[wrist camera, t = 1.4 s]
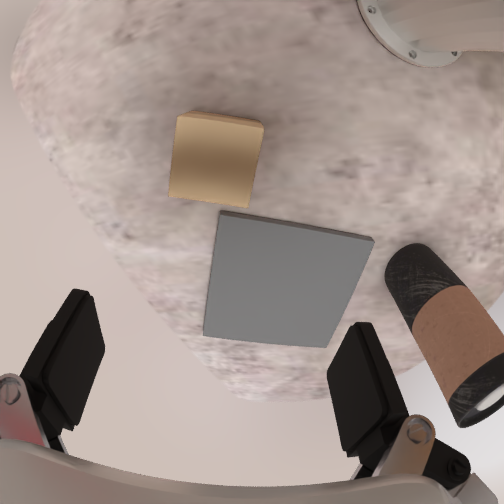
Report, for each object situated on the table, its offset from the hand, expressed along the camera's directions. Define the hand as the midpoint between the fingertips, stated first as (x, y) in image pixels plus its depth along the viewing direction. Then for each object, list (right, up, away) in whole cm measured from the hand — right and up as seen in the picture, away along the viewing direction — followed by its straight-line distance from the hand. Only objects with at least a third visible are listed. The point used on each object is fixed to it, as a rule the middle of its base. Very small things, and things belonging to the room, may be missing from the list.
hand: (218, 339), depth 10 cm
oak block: (-2, +12, +15) cm, 20 cm away
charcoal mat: (+5, -1, +23) cm, 24 cm away
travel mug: (+20, +1, +23) cm, 30 cm away
